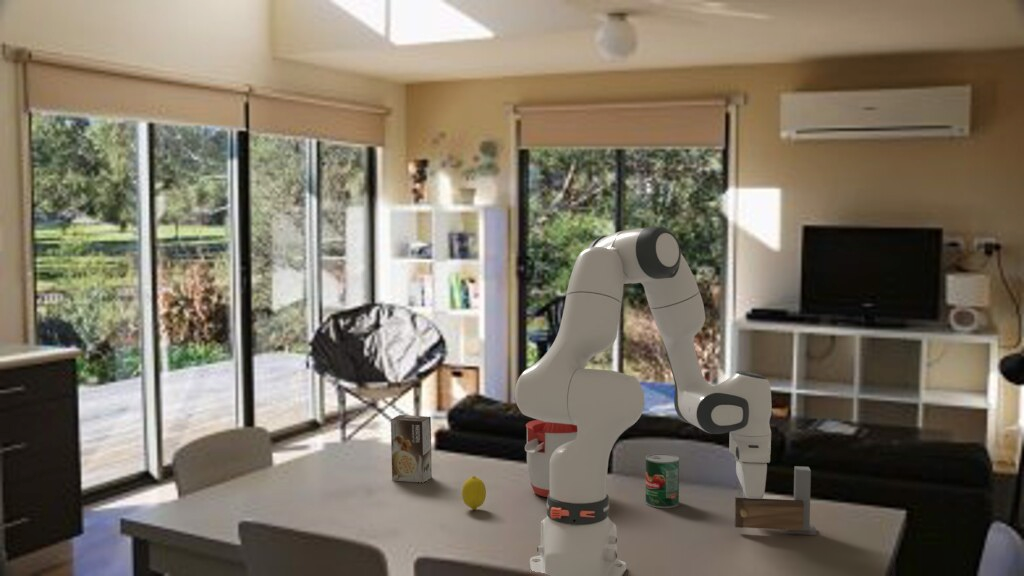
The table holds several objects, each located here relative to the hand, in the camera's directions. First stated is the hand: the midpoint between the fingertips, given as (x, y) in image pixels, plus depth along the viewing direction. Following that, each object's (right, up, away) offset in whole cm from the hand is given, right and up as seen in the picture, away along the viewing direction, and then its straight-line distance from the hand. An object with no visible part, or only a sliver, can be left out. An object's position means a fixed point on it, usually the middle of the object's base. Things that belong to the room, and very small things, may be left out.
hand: (748, 507), depth 212 cm
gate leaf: (+3, -3, -7) cm, 8 cm away
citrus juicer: (-42, -2, +24) cm, 48 cm away
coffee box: (-78, -1, +37) cm, 86 cm away
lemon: (-61, -3, +11) cm, 62 cm away
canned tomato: (-16, -3, +16) cm, 23 cm away
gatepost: (+10, -4, -4) cm, 12 cm away
